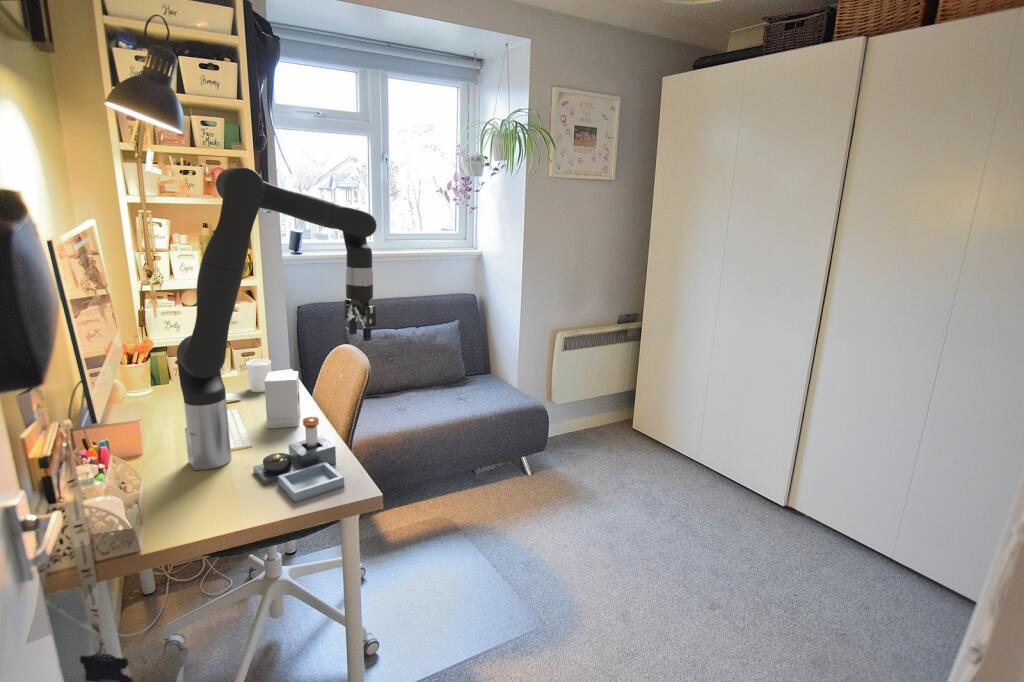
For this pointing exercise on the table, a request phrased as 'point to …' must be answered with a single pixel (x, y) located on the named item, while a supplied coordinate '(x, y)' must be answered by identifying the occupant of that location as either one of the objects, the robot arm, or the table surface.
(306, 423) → the pin
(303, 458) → the block
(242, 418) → the table surface
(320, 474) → the parts tray
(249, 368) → the white cup
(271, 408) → the supplement box
